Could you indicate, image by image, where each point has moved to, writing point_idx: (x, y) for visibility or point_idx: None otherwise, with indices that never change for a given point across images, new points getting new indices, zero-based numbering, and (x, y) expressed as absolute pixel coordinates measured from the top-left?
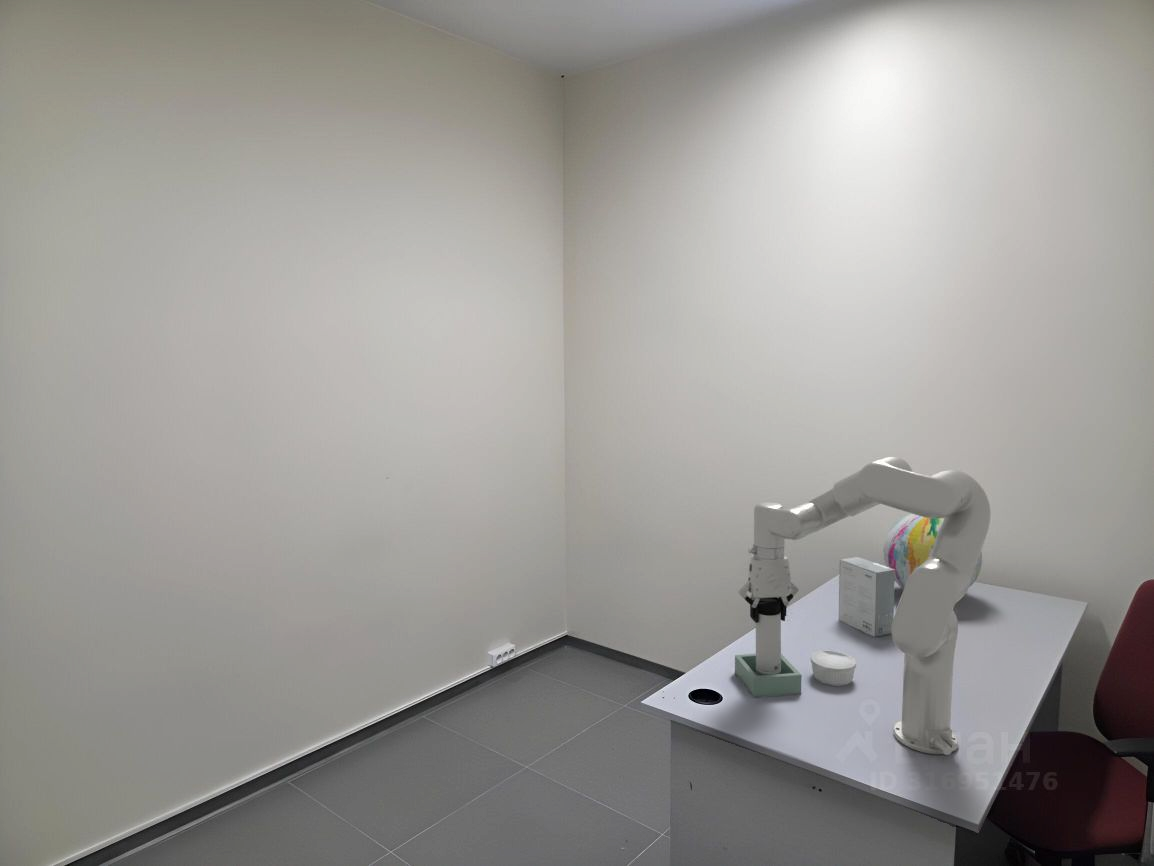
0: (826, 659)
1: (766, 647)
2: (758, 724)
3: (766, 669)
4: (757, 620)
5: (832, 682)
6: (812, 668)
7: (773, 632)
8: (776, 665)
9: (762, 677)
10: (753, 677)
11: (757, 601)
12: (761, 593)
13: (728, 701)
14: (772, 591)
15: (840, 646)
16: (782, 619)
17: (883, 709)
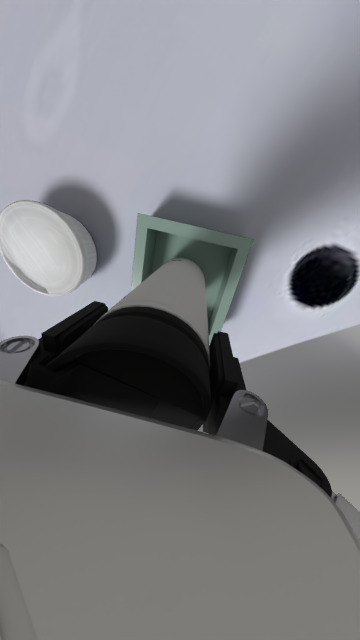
0: (53, 257)
1: (195, 279)
2: (322, 117)
3: (197, 267)
4: (223, 335)
5: (76, 220)
6: (90, 270)
7: (169, 281)
8: (175, 261)
9: (231, 236)
10: (250, 244)
11: (233, 425)
12: (259, 533)
13: (298, 244)
14: (36, 513)
15: (17, 332)
16: (104, 306)
17: (20, 77)
